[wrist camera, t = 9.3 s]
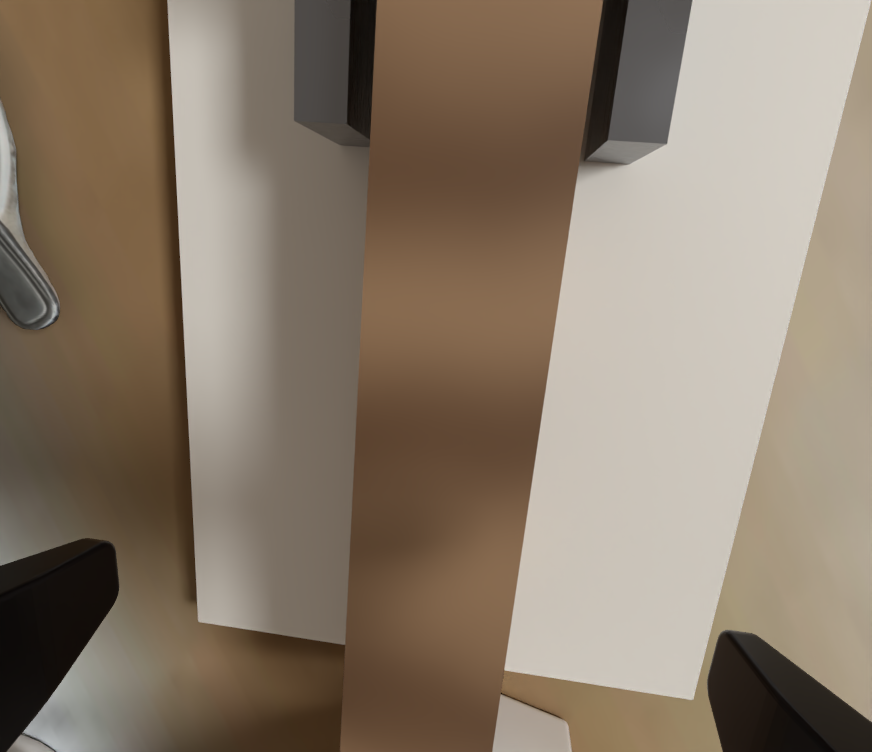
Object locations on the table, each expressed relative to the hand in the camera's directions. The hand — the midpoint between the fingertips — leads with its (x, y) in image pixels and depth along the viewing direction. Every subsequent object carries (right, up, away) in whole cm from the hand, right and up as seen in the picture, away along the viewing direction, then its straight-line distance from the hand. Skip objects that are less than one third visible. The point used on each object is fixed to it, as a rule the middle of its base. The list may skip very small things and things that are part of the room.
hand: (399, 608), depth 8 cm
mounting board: (+1, +5, +10) cm, 11 cm away
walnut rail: (+1, +3, +9) cm, 9 cm away
